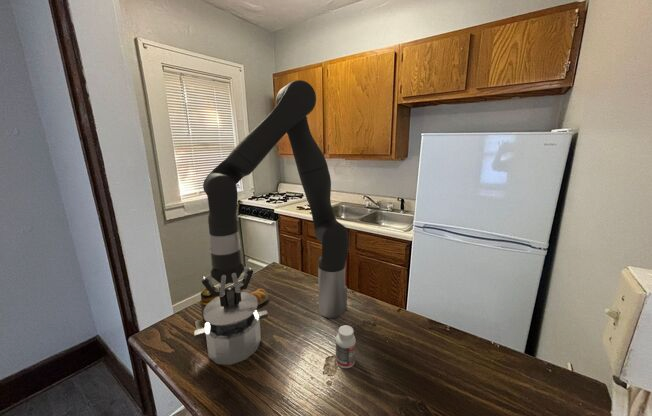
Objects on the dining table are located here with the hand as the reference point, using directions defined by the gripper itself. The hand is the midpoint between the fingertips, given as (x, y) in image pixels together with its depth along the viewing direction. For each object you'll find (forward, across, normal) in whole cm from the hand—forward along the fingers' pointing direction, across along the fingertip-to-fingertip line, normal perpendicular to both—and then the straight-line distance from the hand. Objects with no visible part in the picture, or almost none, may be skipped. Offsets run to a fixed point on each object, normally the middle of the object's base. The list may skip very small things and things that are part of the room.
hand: (231, 304), depth 71 cm
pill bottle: (+13, -26, +20) cm, 35 cm away
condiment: (+14, +6, -13) cm, 20 cm away
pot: (+13, 0, 0) cm, 13 cm away
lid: (+2, 0, 0) cm, 2 cm away
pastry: (+14, -10, -19) cm, 25 cm away
